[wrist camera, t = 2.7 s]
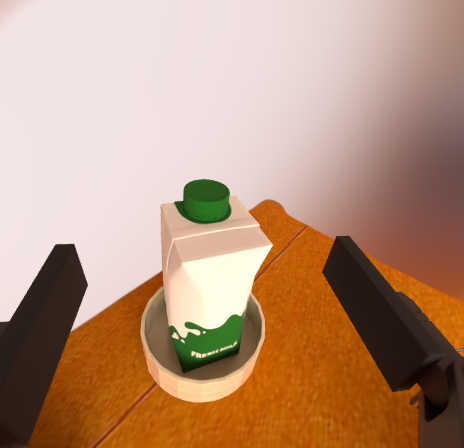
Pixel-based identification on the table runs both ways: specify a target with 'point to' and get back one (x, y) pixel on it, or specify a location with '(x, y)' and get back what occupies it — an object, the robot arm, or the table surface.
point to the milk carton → (208, 271)
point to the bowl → (209, 376)
